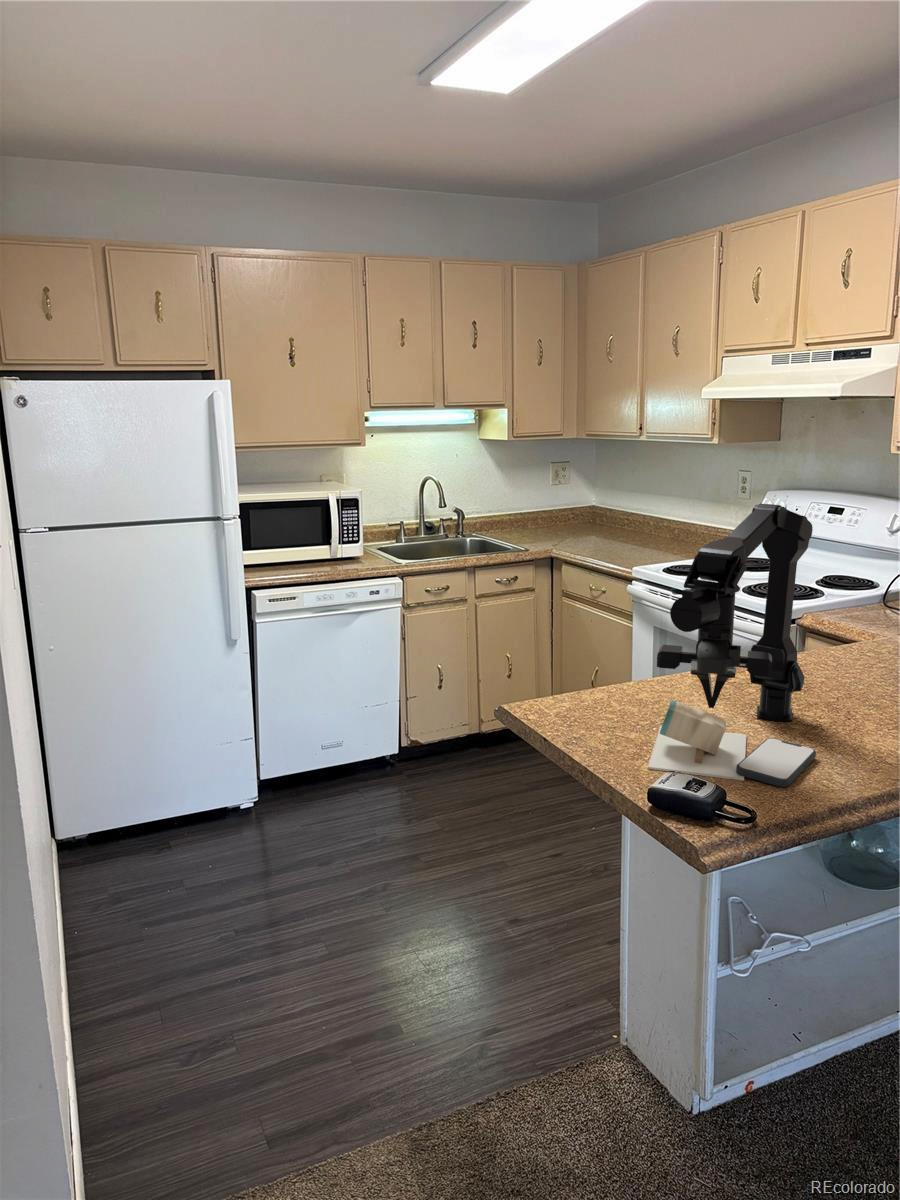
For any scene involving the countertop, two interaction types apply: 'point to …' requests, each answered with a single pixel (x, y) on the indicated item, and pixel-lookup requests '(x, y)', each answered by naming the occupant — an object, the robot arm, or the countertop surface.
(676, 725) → the birch block
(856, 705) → the countertop surface
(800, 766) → the phone case
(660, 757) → the grey mat
